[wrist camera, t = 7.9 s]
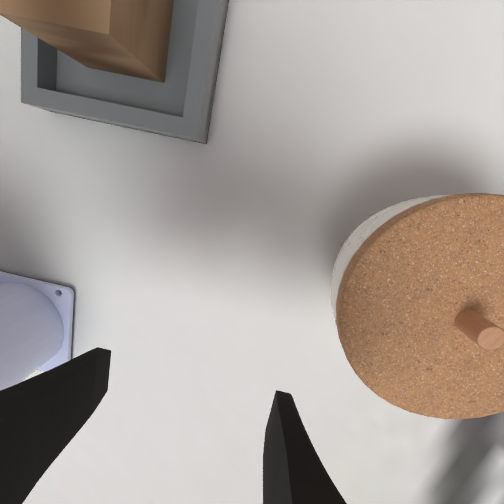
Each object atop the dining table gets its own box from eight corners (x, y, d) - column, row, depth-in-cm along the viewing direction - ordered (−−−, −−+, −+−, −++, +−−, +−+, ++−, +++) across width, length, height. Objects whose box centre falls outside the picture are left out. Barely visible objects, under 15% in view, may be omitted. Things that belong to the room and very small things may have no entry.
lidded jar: (286, 280, 21) (292, 355, 12) (390, 155, 18) (499, 127, 9) (399, 363, 22) (486, 493, 13) (513, 254, 19) (728, 319, 10)
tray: (50, 111, 20) (21, 102, 17) (55, -89, 17) (21, -130, 15) (206, 144, 19) (197, 138, 17) (237, -56, 16) (231, -94, 14)
